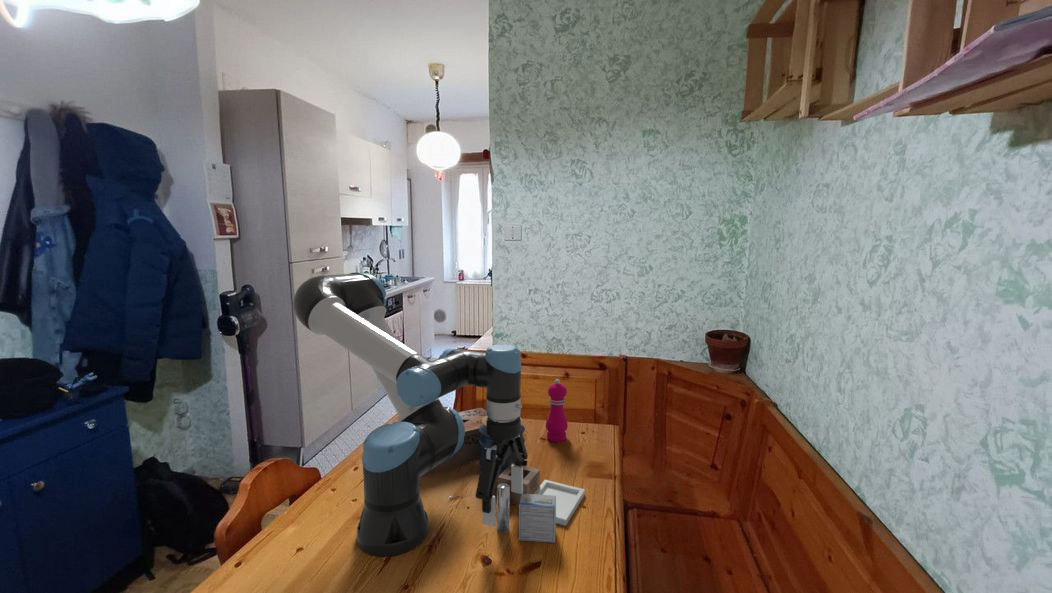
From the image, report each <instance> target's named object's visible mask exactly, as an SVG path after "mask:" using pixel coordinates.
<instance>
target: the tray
mask: <svg viewBox="0 0 1052 593" xmlns="http://www.w3.org/2000/svg"><path fill="white" fill-rule="evenodd" d="M585 492H586V490H585V489H584V488H580V487H576V486H572V485H570V484H565V483H560V482H557V481H551V480H549V479H544V480H543V481H542V483H540V486H539V487H538V489H537V490H536V491H535V492H534V494H538V495H553V496H556V525H557V524H558V525H562V526H564V527H566V526H567V525H568V524H569V522H570V520H571V519H572V516H573V515H574V513H575V512H576V510H577V508H578V506H579V505H580V504H581V502H582V500H583V498H584V497H585V495H586V493H585Z"/></svg>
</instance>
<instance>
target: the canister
mask: <svg viewBox="0 0 1052 593" xmlns="http://www.w3.org/2000/svg"><path fill="white" fill-rule="evenodd" d="M487 417H488V416H485V417H484V418H483V419H482V423H483V424H482V425H481V426H480V427H479V432H480V433H481V437H480V438H479V443H480V458H479V460H478V465H479V471H481V467H482V462H483V451H484V448H491V445H492V439H491V438H490V437H489V436H488V434H487V427H486V419H487ZM520 418H521V428H522V437H523V440H524V443H525V441H526V439H525V436H524V433H525V432H526V426H525V425H524V424H523V419H522V417H521V416H520ZM496 460H499V459H496ZM524 460H525V461H526V459H524ZM499 461H500V460H499ZM511 463H513V462H512V460H511V459H510V457H509V456H508V457H507V459H506V461H505V464H504V466H502V467H501V470H500V474H501V473H502V472H503V471H504V470H505V469H506V468H507V467H508V466H509V465H510V464H511ZM500 474H499V475H500Z"/></svg>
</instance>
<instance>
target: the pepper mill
mask: <svg viewBox="0 0 1052 593" xmlns="http://www.w3.org/2000/svg"><path fill="white" fill-rule="evenodd" d="M567 393H568V392H567V387H566V386H565V385H564V383H563V384H562V383H561V380H560V379H559V378H556V379H555V380H554V383H552V384H550V386H549V387H548V389H547V394H548V396H549V403H550V409H549V410H550V411H549V413H548V416H547V418H546V420H545V429H546V430H547V432H546V439H547V440H548V441H550V442H553V443H561V442H564V441H565V440H566V438H567V433H566V431H567V429H568V427H569V426H568V420H567V417H566V415H565V411H564V405H565V404H566V401H565V400H566V399H565V397H566V395H567Z"/></svg>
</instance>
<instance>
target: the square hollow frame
mask: <svg viewBox="0 0 1052 593" xmlns="http://www.w3.org/2000/svg"><path fill="white" fill-rule="evenodd" d="M513 464H514V463H511V464H510V465H509V466H508V467H507V468H506V469H505V470H504V471H503V472H502V473H501V474H500V475H499V477H498V480H497V486H498V485H499V484H503V483H504V484H508V485H509V486H510V499H509V504H513V505H516V506H519V502H520V498H521V494H519V493H515V492H511V466H512V465H513ZM514 465H515V464H514ZM540 485H541V469H539V468H535V467H531V466H528V465H527V466H523V493H522V494H534V492H535V491H536V490H537V489H538V487H539V486H540Z"/></svg>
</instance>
